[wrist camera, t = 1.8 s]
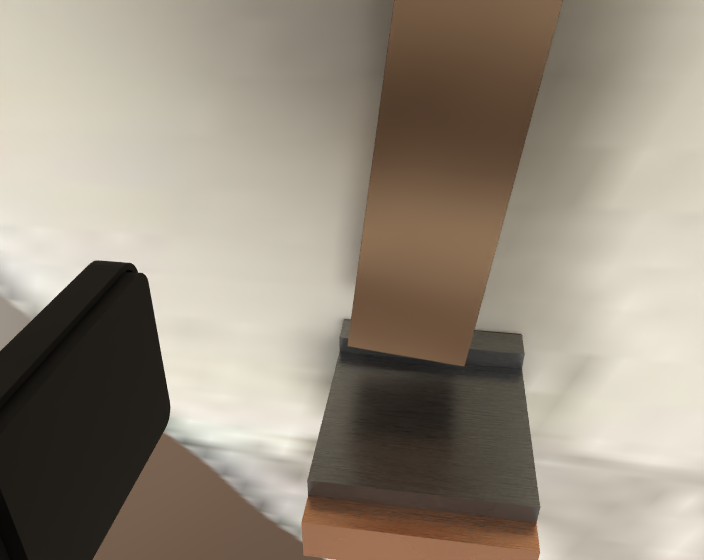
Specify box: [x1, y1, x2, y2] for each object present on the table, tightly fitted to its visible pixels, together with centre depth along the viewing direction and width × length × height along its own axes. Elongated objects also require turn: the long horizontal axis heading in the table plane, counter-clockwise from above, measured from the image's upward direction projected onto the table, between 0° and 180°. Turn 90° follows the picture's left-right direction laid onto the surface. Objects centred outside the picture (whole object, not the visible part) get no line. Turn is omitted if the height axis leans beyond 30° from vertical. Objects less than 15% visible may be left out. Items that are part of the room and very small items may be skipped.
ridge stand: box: [302, 320, 540, 560], centre depth 23 cm, size 4×7×9 cm, turn 90°
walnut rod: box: [348, 0, 563, 366], centre depth 19 cm, size 16×4×4 cm, turn 174°
